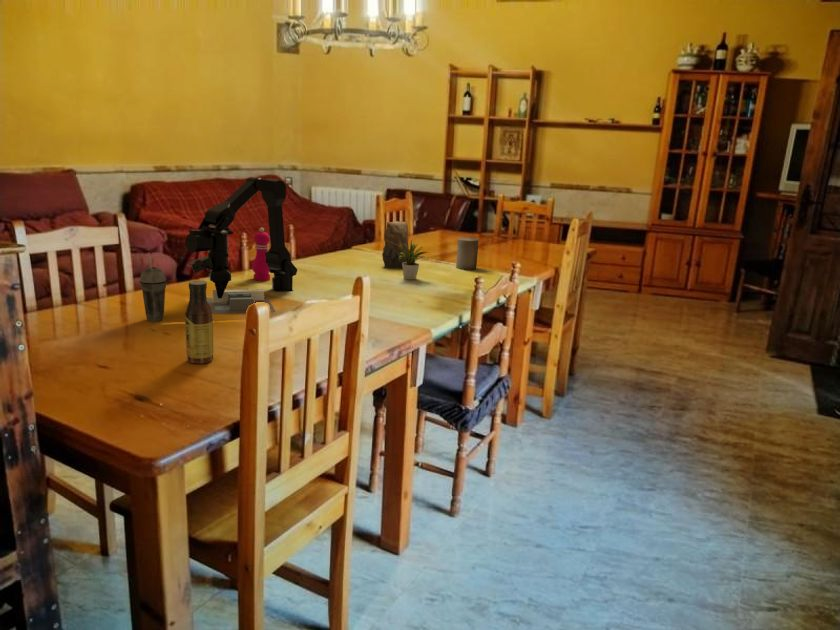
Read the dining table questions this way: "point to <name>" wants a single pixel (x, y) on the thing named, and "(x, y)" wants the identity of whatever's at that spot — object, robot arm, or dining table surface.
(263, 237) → the pepper mill
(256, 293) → the light grey bar
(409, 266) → the house plant
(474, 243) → the pillar candle
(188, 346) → the sauce bottle
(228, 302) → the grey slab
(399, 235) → the rough stone block
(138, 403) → the dining table surface
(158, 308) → the beverage cup
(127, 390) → the dining table surface
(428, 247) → the dining table surface
